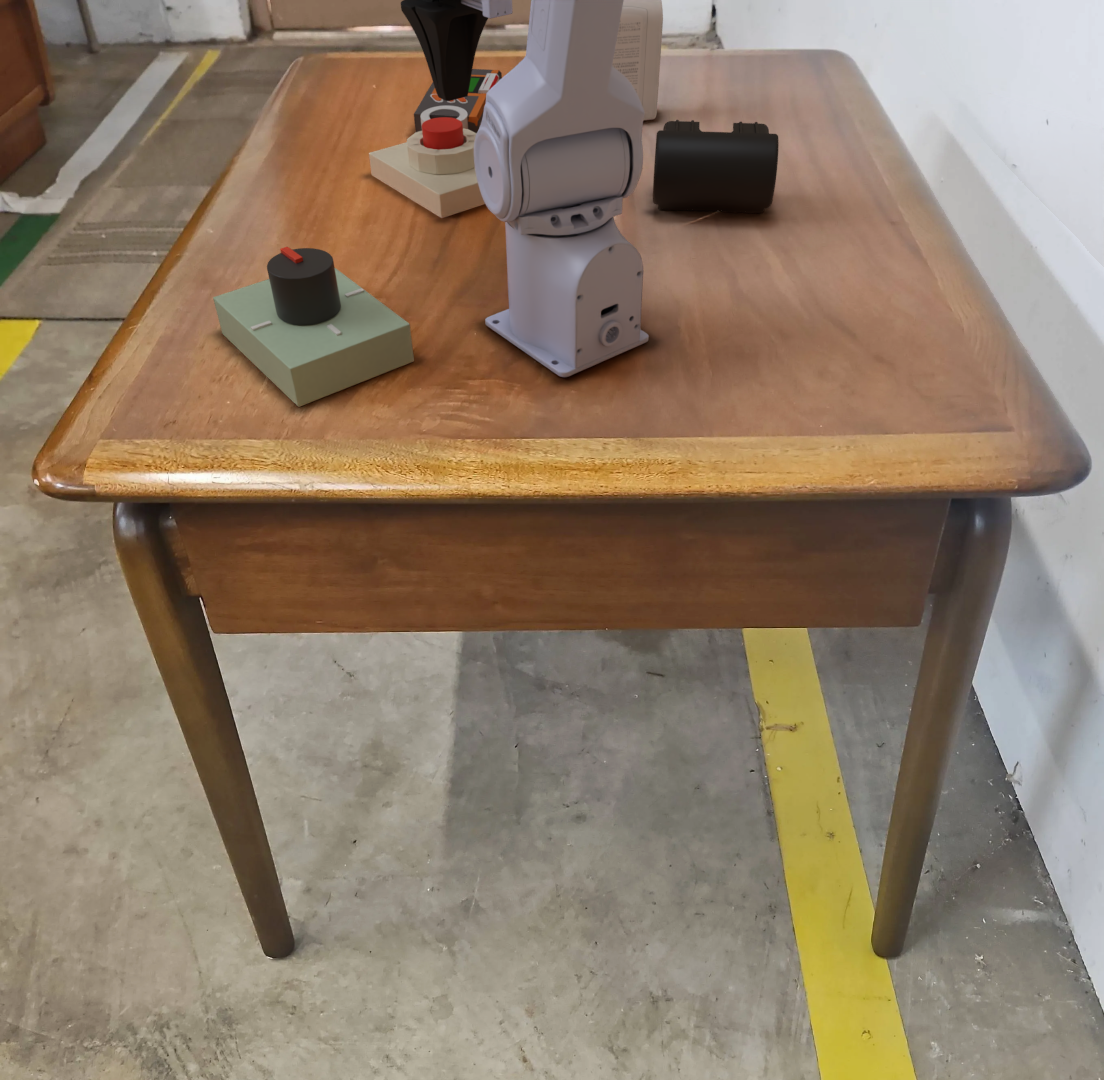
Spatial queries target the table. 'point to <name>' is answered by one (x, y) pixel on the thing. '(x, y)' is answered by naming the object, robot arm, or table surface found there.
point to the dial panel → (316, 340)
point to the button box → (431, 174)
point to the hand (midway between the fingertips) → (453, 96)
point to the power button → (442, 133)
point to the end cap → (715, 168)
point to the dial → (304, 286)
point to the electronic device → (459, 102)
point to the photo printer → (641, 50)
